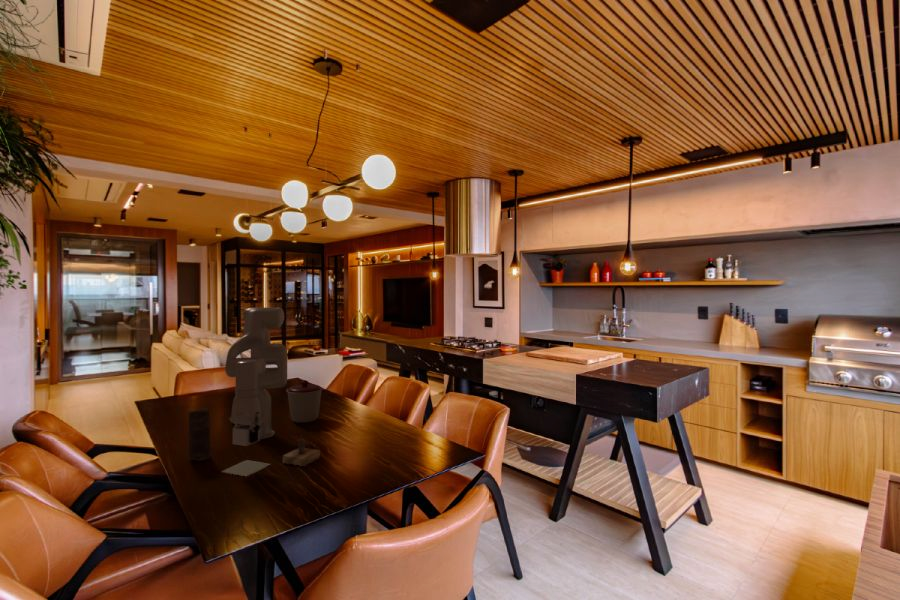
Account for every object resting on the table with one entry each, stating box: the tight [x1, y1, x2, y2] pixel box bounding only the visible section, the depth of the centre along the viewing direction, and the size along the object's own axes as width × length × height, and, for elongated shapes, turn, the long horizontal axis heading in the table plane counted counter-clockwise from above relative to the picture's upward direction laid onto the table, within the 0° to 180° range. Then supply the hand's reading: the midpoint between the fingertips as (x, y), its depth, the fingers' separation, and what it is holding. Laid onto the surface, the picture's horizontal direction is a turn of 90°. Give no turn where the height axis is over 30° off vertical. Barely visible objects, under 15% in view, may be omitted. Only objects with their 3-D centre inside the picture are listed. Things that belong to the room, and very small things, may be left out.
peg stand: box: [282, 438, 321, 467], centre depth 171 cm, size 10×10×8 cm
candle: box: [188, 407, 212, 462], centre depth 172 cm, size 8×7×20 cm
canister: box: [286, 380, 324, 424], centre depth 226 cm, size 18×18×21 cm
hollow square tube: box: [232, 425, 261, 447], centre depth 163 cm, size 7×7×6 cm
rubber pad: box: [220, 459, 272, 478], centre depth 163 cm, size 12×12×1 cm
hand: (246, 440), depth 163 cm, fingers closed on hollow square tube, 6 cm apart
